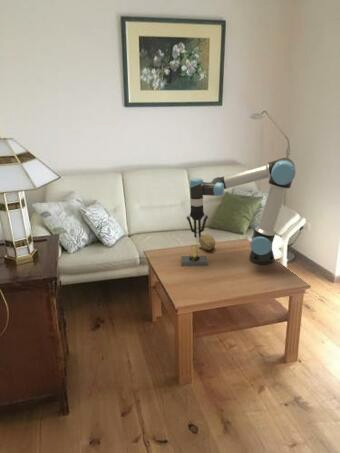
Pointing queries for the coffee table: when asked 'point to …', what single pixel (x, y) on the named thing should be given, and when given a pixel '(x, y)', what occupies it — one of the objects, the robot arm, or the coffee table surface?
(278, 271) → the coffee table surface
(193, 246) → the gold peg
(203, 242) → the faceted tan rock
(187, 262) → the metal plate with hole
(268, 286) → the coffee table surface
